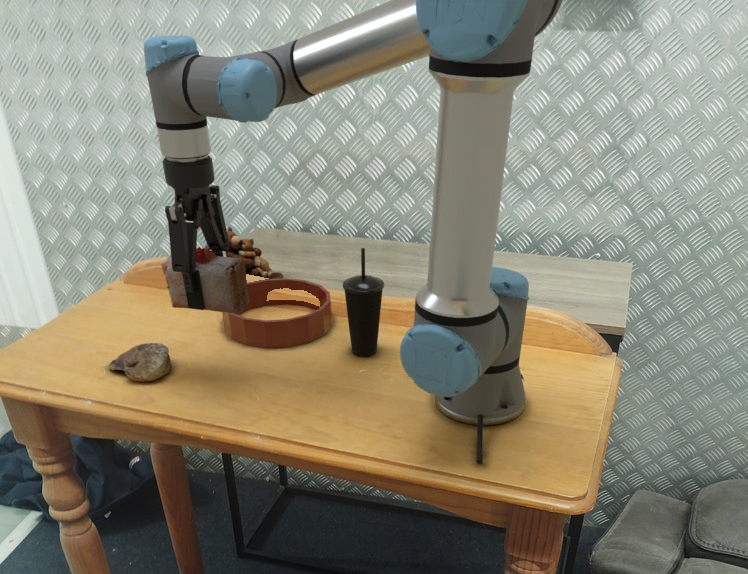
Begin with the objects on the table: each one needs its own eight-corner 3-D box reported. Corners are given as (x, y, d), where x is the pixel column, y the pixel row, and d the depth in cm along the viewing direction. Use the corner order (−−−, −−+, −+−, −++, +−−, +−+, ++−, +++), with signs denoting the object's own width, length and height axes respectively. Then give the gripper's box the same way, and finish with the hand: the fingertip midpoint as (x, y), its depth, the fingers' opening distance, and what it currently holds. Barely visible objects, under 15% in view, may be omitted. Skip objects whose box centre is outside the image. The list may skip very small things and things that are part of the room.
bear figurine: (254, 297, 160) (248, 242, 153) (205, 283, 166) (196, 230, 159) (291, 278, 169) (287, 225, 162) (243, 265, 175) (237, 214, 168)
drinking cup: (379, 362, 135) (379, 257, 123) (340, 358, 137) (336, 254, 124) (387, 344, 141) (388, 242, 129) (349, 341, 143) (346, 240, 130)
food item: (163, 310, 123) (151, 253, 116) (184, 292, 129) (174, 237, 122) (236, 318, 120) (229, 260, 114) (254, 300, 126) (248, 243, 120)
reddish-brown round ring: (309, 353, 138) (307, 327, 135) (206, 339, 143) (202, 314, 140) (345, 309, 155) (344, 284, 151) (252, 297, 160) (249, 273, 156)
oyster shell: (147, 351, 140) (141, 327, 137) (185, 371, 133) (180, 346, 130) (103, 368, 134) (97, 344, 131) (141, 390, 128) (135, 365, 125)
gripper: (197, 139, 118) (216, 274, 132) (128, 171, 102) (158, 320, 116) (238, 142, 116) (253, 279, 130) (174, 175, 101) (199, 326, 115)
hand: (208, 298), depth 123 cm, fingers closed on food item, 8 cm apart
